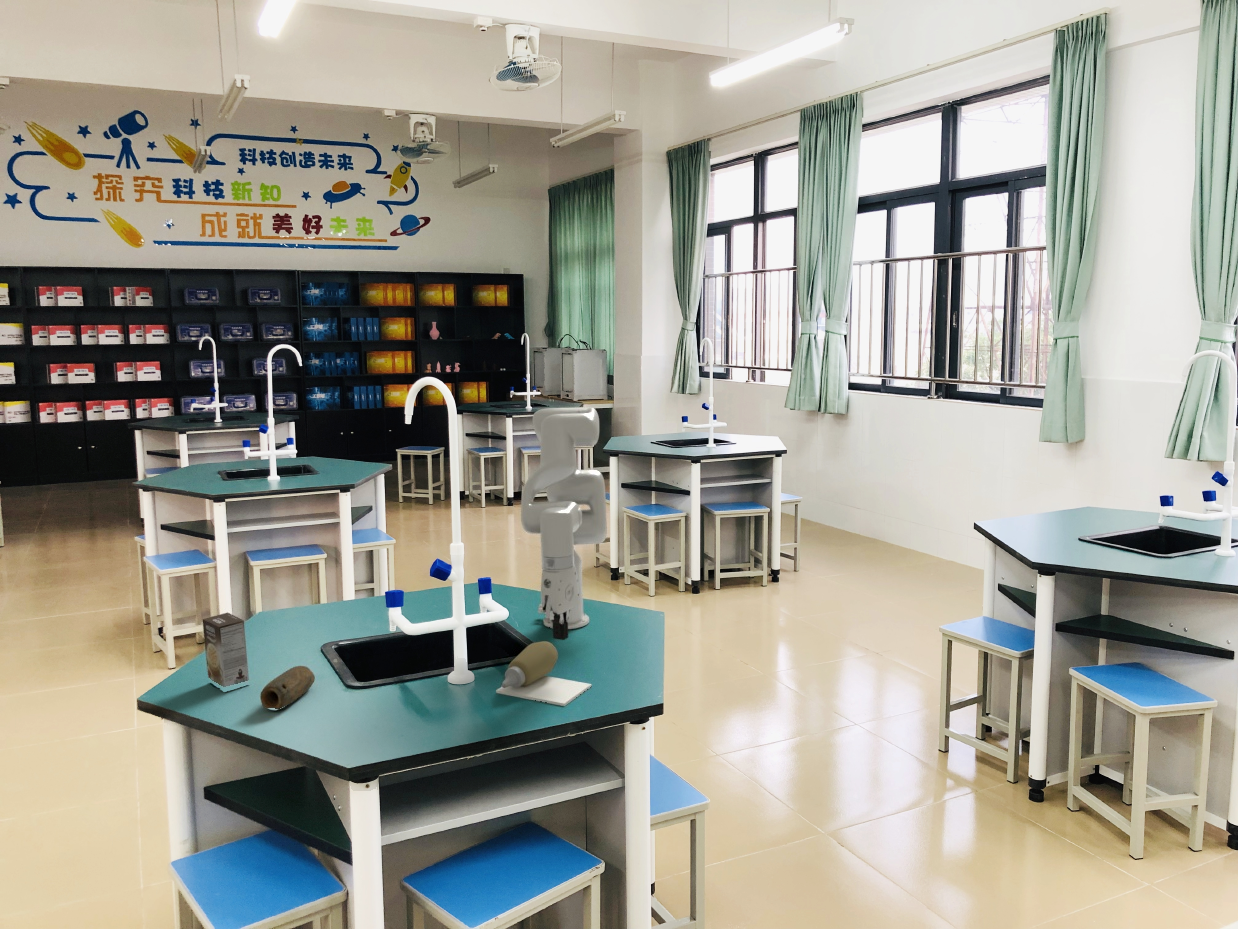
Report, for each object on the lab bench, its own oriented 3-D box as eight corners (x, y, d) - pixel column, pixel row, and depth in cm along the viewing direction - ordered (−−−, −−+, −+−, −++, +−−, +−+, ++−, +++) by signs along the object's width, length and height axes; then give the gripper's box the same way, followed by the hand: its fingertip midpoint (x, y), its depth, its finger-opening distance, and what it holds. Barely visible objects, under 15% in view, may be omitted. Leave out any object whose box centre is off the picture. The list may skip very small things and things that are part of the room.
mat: (496, 692, 213) (496, 690, 213) (525, 674, 224) (525, 672, 224) (564, 706, 205) (564, 703, 205) (591, 686, 216) (591, 684, 215)
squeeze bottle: (539, 630, 224) (493, 661, 209) (566, 648, 221) (522, 681, 206) (530, 656, 227) (484, 689, 212) (556, 674, 224) (513, 709, 209)
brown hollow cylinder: (290, 714, 205) (287, 685, 204) (259, 714, 206) (256, 685, 205) (318, 688, 220) (316, 660, 219) (289, 687, 220) (286, 660, 219)
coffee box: (207, 683, 224) (200, 618, 221) (233, 676, 228) (227, 611, 226) (224, 693, 217) (218, 626, 215) (251, 685, 222) (245, 619, 219)
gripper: (554, 571, 209) (557, 650, 212) (588, 555, 222) (590, 630, 225) (526, 567, 212) (529, 646, 215) (560, 552, 225) (563, 626, 228)
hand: (560, 638), depth 220 cm, fingers closed
